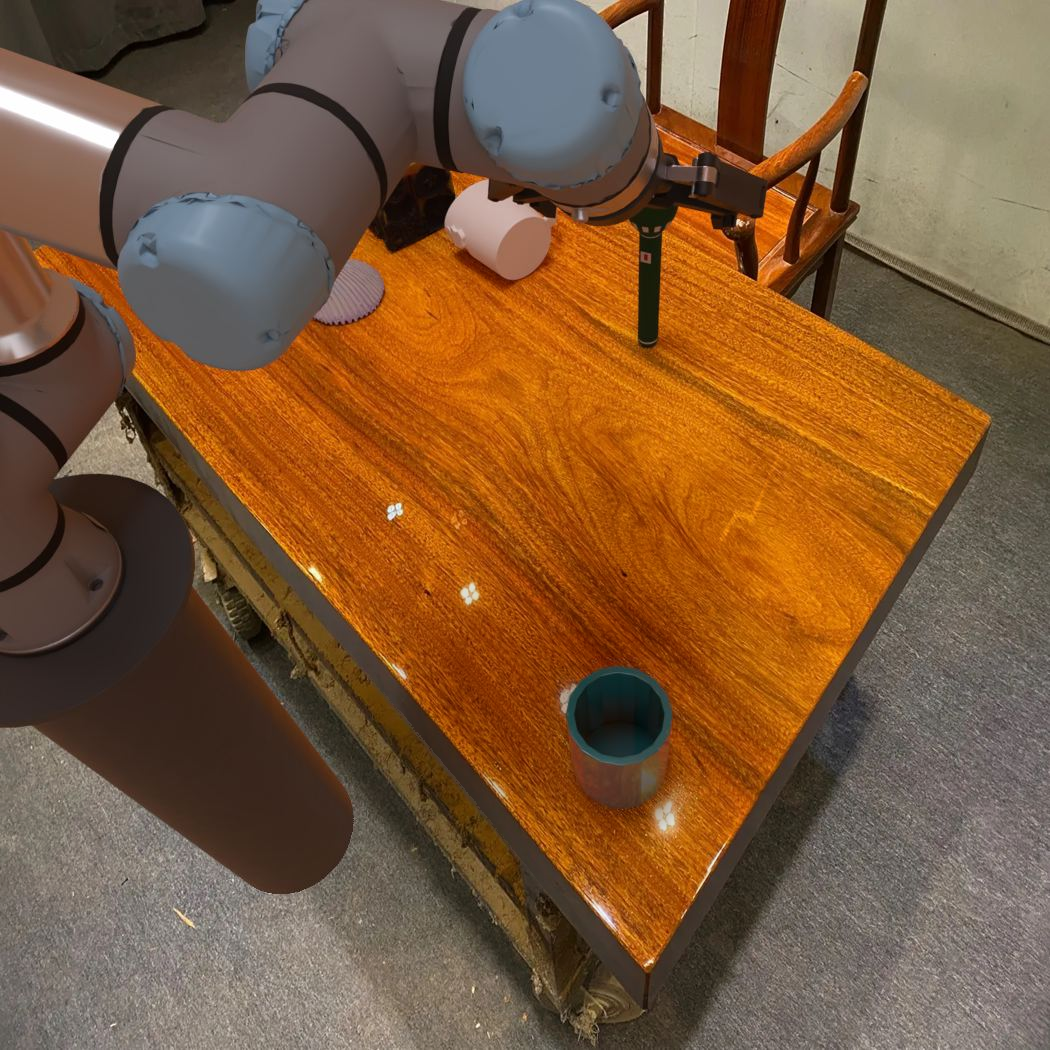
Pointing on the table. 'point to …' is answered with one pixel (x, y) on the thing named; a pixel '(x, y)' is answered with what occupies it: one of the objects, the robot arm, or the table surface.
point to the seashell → (352, 293)
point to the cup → (619, 735)
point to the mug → (499, 231)
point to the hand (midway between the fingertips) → (634, 206)
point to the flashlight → (650, 269)
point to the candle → (415, 206)
